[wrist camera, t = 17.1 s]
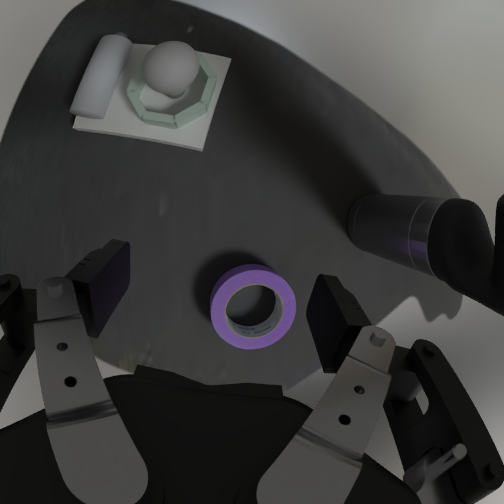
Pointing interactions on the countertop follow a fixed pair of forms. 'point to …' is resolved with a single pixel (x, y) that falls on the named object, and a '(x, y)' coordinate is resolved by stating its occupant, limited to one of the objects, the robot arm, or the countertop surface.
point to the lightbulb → (170, 68)
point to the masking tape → (264, 331)
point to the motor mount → (145, 97)
